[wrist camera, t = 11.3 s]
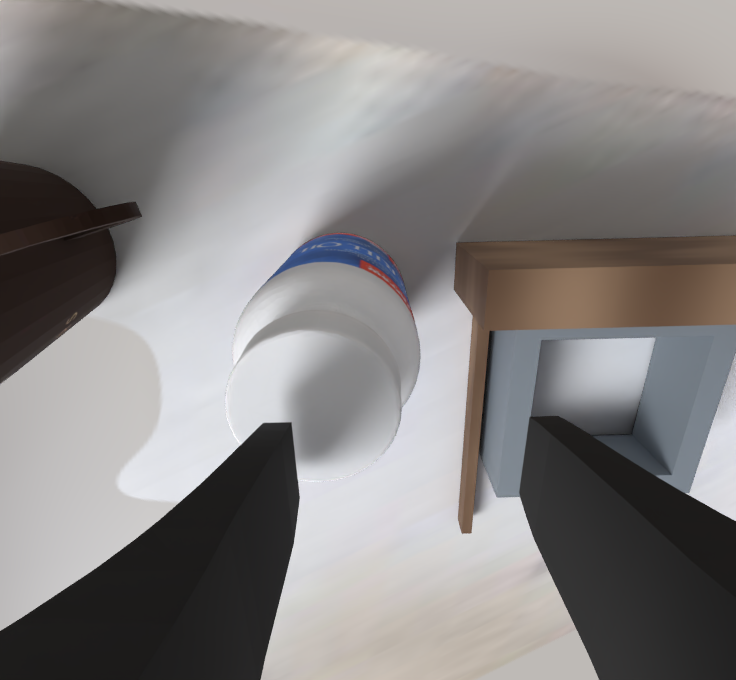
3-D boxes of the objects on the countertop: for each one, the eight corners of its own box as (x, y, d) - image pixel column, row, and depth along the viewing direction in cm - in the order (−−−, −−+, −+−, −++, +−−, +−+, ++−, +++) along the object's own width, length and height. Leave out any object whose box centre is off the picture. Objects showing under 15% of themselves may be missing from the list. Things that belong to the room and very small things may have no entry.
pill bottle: (422, 254, 18) (481, 345, 9) (380, 364, 20) (392, 530, 11) (296, 211, 17) (220, 261, 8) (264, 329, 19) (175, 476, 10)
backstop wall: (746, 235, 18) (881, 260, 13) (660, 514, 23) (733, 600, 19) (456, 242, 18) (488, 269, 13) (441, 519, 23) (460, 606, 19)
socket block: (691, 288, 18) (749, 310, 16) (647, 450, 22) (688, 492, 19) (494, 293, 18) (517, 315, 16) (479, 454, 22) (496, 497, 19)
